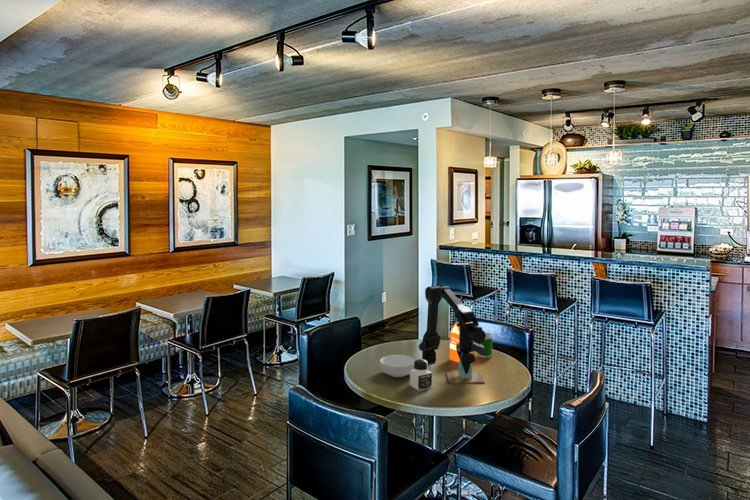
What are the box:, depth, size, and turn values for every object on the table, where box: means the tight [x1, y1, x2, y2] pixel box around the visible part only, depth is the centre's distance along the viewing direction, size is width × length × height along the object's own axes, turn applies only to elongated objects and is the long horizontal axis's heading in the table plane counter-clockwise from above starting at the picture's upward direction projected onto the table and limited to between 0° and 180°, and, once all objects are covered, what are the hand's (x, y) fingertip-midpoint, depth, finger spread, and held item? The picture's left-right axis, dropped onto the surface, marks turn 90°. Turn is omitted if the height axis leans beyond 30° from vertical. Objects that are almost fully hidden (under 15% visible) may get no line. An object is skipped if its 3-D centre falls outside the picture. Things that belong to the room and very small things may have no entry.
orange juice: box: [449, 321, 474, 364], centre depth 256 cm, size 8×9×20 cm
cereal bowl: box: [379, 354, 416, 379], centre depth 236 cm, size 17×17×7 cm
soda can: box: [476, 332, 493, 359], centre depth 261 cm, size 8×8×12 cm
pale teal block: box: [458, 361, 473, 379], centre depth 230 cm, size 5×5×7 cm
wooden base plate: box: [445, 371, 486, 385], centre depth 230 cm, size 16×12×7 cm
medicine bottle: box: [409, 358, 433, 392], centre depth 220 cm, size 7×7×12 cm
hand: (465, 370), depth 230 cm, fingers open, 9 cm apart
